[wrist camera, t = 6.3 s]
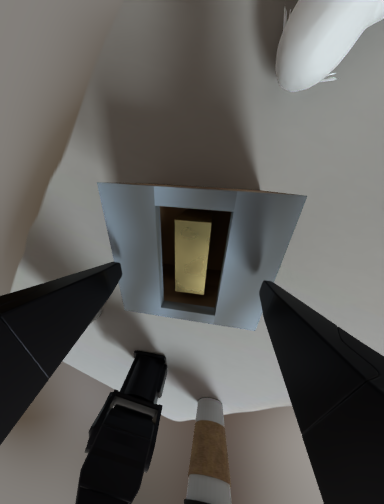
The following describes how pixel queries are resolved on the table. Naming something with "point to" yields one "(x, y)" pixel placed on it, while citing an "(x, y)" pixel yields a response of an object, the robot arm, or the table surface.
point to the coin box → (219, 255)
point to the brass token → (192, 250)
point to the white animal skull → (320, 38)
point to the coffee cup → (209, 457)
